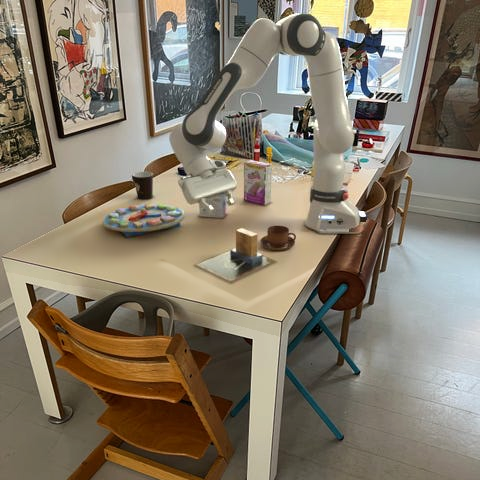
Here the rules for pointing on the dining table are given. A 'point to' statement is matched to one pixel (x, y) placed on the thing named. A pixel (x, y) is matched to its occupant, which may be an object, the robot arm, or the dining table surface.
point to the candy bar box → (257, 182)
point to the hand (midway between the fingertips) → (221, 208)
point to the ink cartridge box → (215, 207)
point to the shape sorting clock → (143, 219)
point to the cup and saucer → (278, 238)
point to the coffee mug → (143, 184)
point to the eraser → (246, 247)
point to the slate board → (231, 266)
